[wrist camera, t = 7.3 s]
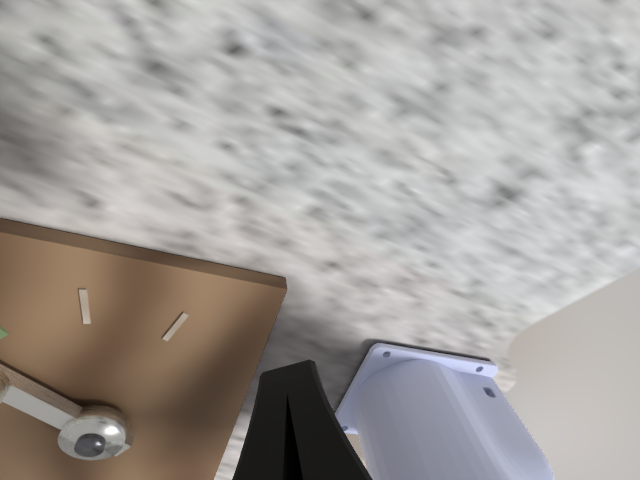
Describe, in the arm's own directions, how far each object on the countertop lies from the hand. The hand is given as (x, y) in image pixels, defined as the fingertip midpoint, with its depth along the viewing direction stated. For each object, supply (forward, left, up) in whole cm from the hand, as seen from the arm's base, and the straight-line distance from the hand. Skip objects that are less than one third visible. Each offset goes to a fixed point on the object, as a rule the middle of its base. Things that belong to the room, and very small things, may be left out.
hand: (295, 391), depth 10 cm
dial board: (+7, +12, -10) cm, 17 cm away
